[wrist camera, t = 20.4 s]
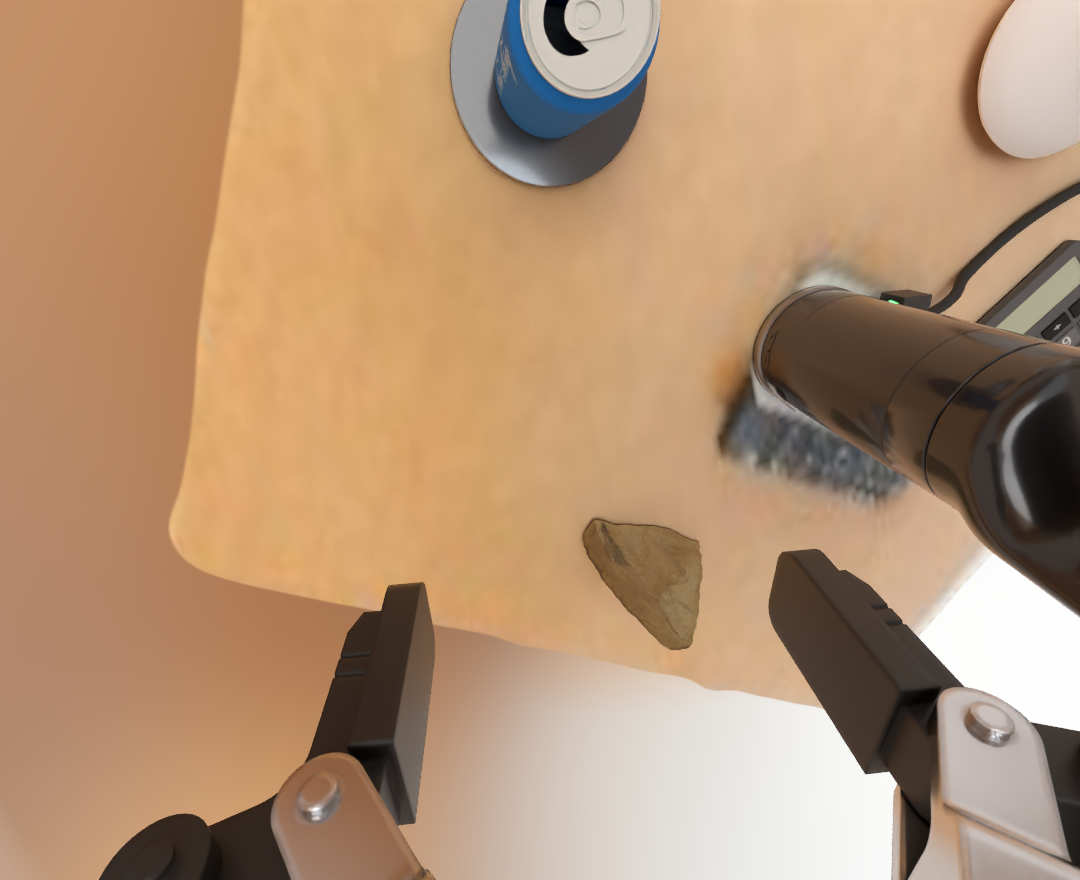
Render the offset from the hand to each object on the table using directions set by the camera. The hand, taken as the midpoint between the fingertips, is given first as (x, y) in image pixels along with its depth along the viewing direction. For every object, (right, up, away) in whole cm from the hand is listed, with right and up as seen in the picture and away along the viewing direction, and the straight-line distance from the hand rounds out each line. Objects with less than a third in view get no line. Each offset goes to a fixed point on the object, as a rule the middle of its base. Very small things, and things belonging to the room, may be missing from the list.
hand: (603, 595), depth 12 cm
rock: (+8, -6, +36) cm, 38 cm away
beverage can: (-1, +25, +20) cm, 32 cm away
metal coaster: (-1, +26, +20) cm, 33 cm away
